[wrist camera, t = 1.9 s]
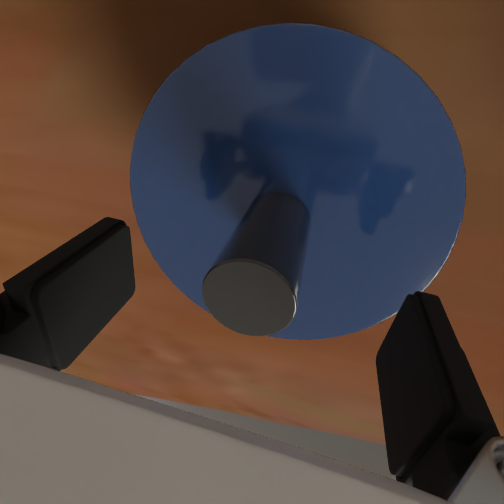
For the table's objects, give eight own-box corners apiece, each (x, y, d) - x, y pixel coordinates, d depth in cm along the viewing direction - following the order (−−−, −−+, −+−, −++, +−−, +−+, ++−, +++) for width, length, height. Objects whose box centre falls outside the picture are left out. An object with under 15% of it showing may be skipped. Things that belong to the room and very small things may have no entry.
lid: (130, 2, 12) (-51, -49, 6) (541, 57, 10) (789, 53, 5) (150, 290, 20) (78, 378, 14) (383, 352, 18) (401, 481, 12)
